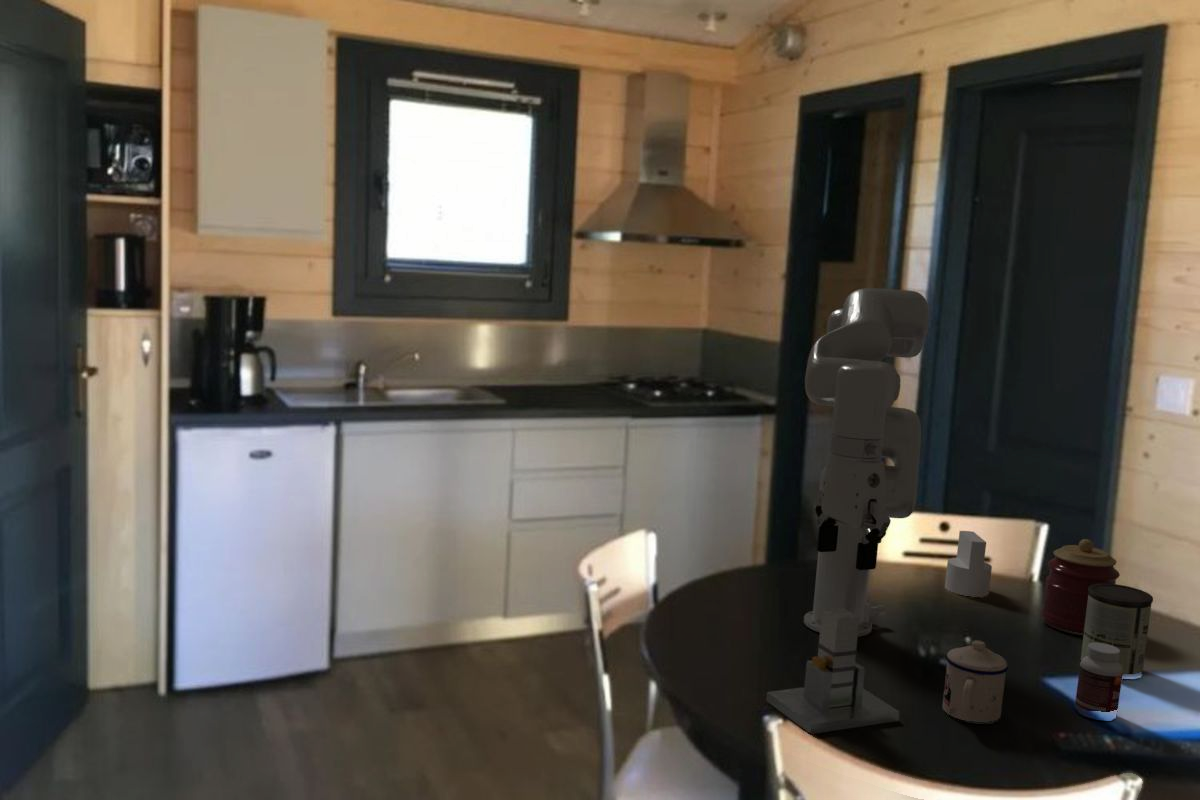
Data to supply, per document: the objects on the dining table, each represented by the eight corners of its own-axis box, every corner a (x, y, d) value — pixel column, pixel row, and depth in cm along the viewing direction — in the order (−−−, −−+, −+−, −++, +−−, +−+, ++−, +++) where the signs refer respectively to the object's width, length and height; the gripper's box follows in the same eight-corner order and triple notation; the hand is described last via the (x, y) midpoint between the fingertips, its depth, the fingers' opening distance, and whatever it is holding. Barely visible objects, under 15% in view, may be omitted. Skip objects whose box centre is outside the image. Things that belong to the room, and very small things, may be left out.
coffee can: (1076, 654, 201) (1086, 579, 199) (1138, 664, 198) (1148, 588, 196) (1081, 673, 191) (1091, 595, 189) (1146, 684, 188) (1157, 605, 186)
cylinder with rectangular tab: (994, 598, 231) (1001, 543, 230) (951, 596, 231) (958, 540, 230) (980, 585, 240) (986, 532, 238) (939, 583, 240) (945, 529, 238)
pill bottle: (1118, 726, 170) (1127, 658, 169) (1074, 717, 172) (1083, 650, 171) (1115, 711, 176) (1124, 645, 174) (1073, 703, 178) (1081, 638, 177)
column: (835, 694, 172) (843, 607, 170) (851, 705, 168) (860, 616, 166) (813, 697, 170) (821, 610, 168) (829, 708, 166) (837, 619, 164)
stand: (850, 689, 178) (855, 638, 177) (898, 720, 167) (904, 666, 166) (766, 701, 172) (770, 647, 170) (810, 734, 161) (815, 677, 159)
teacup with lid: (946, 696, 178) (954, 627, 176) (1005, 710, 173) (1014, 640, 172) (931, 723, 167) (939, 650, 165) (994, 739, 163) (1003, 663, 161)
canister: (1093, 643, 207) (1105, 552, 205) (1028, 622, 217) (1038, 535, 214) (1123, 630, 216) (1135, 542, 213) (1059, 611, 226) (1070, 527, 223)
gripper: (914, 458, 157) (902, 575, 159) (842, 437, 173) (832, 543, 175) (871, 459, 154) (860, 578, 156) (801, 438, 170) (792, 546, 172)
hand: (845, 559), depth 166 cm, fingers open, 9 cm apart
